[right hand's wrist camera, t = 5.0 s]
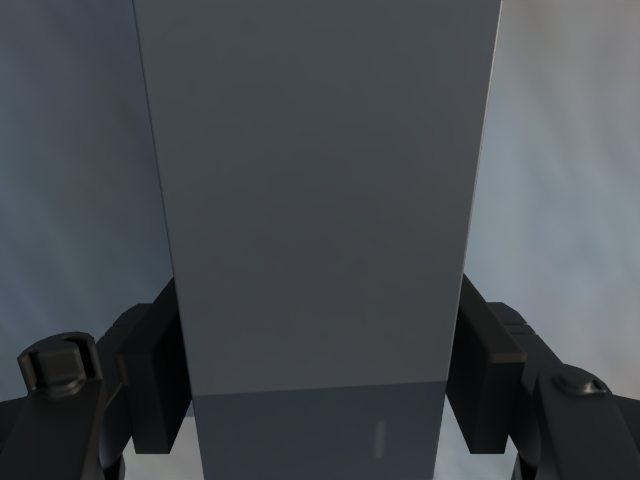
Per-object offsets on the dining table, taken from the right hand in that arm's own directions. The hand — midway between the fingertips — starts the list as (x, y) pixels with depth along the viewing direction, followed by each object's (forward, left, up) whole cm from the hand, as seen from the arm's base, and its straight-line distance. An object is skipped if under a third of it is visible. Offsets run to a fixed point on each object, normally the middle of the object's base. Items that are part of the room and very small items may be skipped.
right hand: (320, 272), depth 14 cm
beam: (+20, +22, -1) cm, 30 cm away
